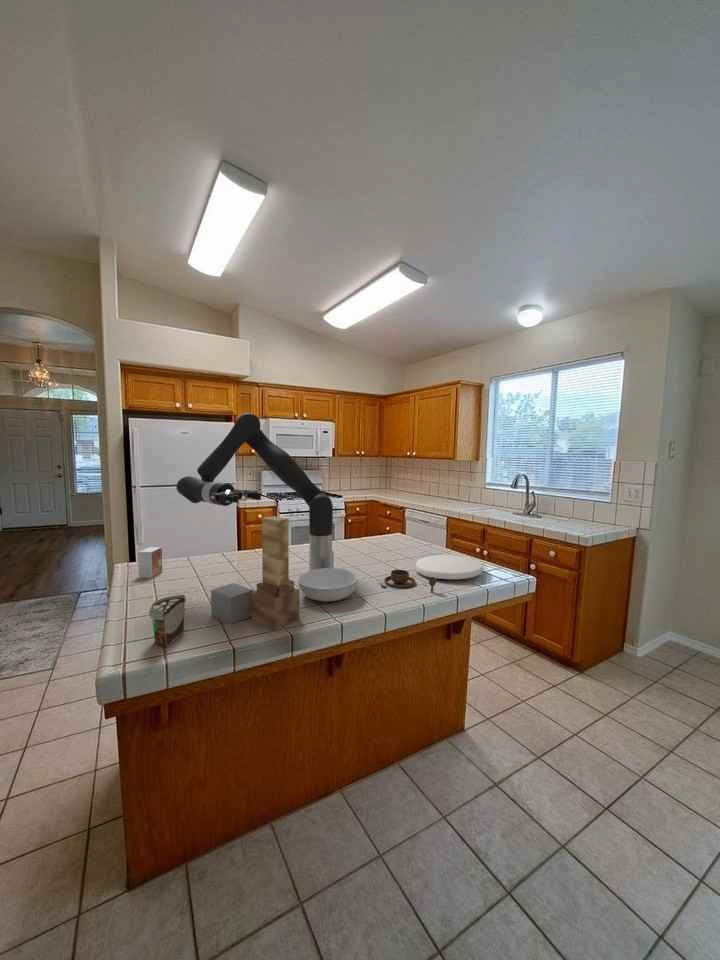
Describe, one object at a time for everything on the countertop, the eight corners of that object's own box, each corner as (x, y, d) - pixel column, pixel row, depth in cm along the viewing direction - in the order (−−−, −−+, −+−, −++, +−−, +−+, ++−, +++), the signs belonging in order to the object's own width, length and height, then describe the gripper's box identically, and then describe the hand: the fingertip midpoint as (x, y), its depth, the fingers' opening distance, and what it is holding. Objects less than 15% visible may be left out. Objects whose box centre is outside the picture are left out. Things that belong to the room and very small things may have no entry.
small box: (152, 578, 152) (151, 552, 151) (138, 578, 152) (137, 551, 151) (163, 571, 160) (162, 547, 159) (149, 571, 160) (148, 546, 159)
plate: (416, 570, 151) (413, 553, 178) (417, 586, 152) (414, 566, 178) (489, 566, 148) (475, 548, 175) (490, 582, 149) (476, 562, 175)
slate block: (233, 606, 126) (233, 582, 125) (253, 615, 120) (253, 589, 119) (211, 615, 119) (210, 590, 119) (231, 624, 113) (230, 597, 113)
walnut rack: (277, 610, 124) (276, 574, 123) (299, 618, 118) (299, 581, 117) (251, 621, 116) (251, 583, 115) (274, 630, 110) (273, 591, 109)
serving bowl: (292, 589, 142) (292, 571, 141) (346, 583, 149) (346, 565, 149) (306, 612, 122) (306, 591, 122) (366, 603, 130) (367, 583, 130)
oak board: (272, 586, 120) (272, 516, 118) (288, 591, 115) (288, 518, 114) (262, 590, 116) (262, 517, 115) (278, 595, 112) (278, 520, 111)
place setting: (413, 577, 159) (413, 563, 158) (438, 594, 140) (439, 578, 139) (373, 581, 153) (373, 567, 153) (394, 600, 134) (394, 584, 134)
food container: (165, 627, 111) (164, 593, 110) (186, 628, 111) (185, 594, 110) (139, 649, 99) (138, 611, 98) (163, 650, 98) (162, 612, 98)
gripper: (198, 483, 124) (229, 487, 115) (236, 481, 136) (267, 484, 126) (199, 506, 125) (229, 512, 115) (236, 502, 136) (267, 507, 127)
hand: (249, 497), depth 121 cm, fingers open, 8 cm apart
